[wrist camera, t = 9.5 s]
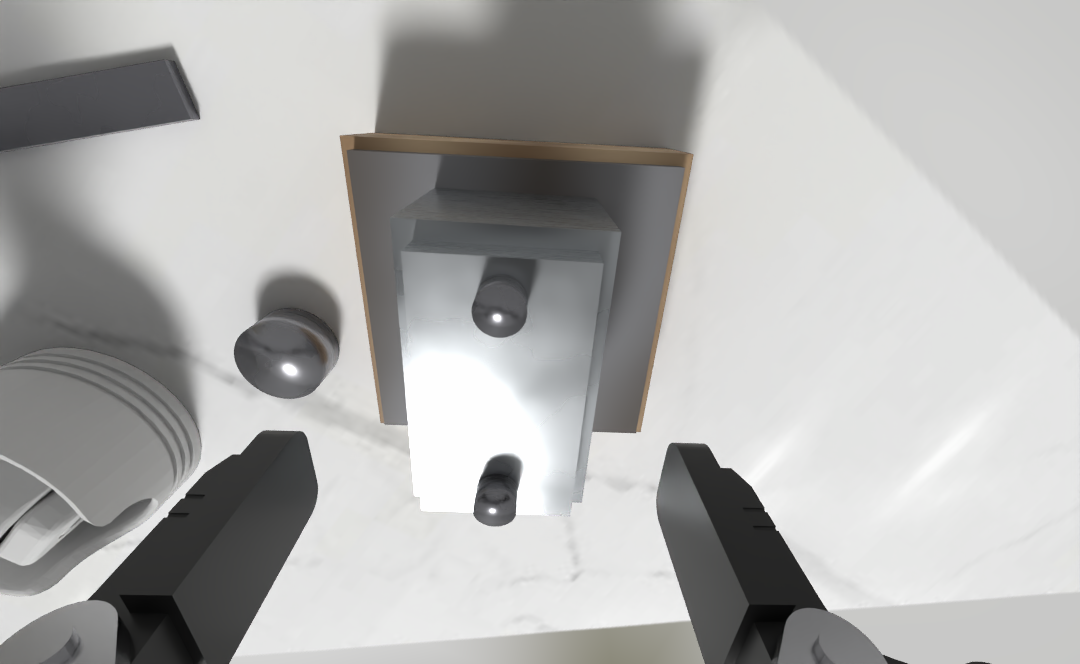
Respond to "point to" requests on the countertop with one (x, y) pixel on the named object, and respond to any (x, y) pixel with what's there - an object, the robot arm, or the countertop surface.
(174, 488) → the engine component
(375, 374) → the stand
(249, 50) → the countertop surface
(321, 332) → the dark grey domed cap
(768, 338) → the countertop surface
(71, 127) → the bar
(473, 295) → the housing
